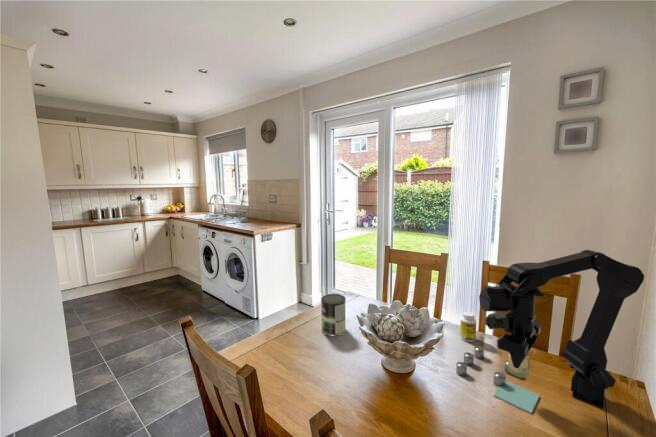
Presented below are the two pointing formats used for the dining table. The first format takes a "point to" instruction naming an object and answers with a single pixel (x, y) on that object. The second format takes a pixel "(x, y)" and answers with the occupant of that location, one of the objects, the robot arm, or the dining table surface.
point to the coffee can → (333, 314)
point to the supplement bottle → (468, 327)
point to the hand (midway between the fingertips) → (518, 363)
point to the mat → (517, 396)
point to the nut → (523, 368)
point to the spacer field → (469, 361)
